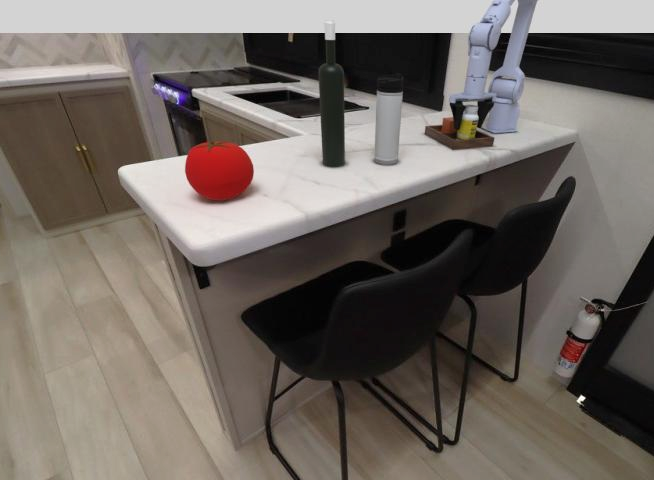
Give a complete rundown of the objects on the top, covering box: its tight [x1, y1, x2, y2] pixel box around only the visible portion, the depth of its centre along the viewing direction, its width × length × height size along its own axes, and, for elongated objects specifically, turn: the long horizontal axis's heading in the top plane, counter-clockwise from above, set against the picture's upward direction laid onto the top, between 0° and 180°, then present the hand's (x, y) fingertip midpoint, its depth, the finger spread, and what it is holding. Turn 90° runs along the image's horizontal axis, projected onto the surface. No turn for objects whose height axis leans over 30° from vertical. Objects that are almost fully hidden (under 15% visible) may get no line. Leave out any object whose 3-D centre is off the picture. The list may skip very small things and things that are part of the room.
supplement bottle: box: [456, 104, 479, 140], centre depth 113 cm, size 5×5×10 cm
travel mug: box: [373, 73, 405, 166], centre depth 95 cm, size 6×7×20 cm
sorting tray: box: [424, 124, 495, 151], centre depth 118 cm, size 14×18×2 cm
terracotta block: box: [441, 116, 458, 133], centre depth 120 cm, size 4×4×4 cm
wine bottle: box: [318, 19, 346, 168], centre depth 89 cm, size 6×6×30 cm
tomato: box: [184, 140, 255, 201], centre depth 77 cm, size 12×13×11 cm
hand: (467, 128), depth 113 cm, fingers open, 7 cm apart
